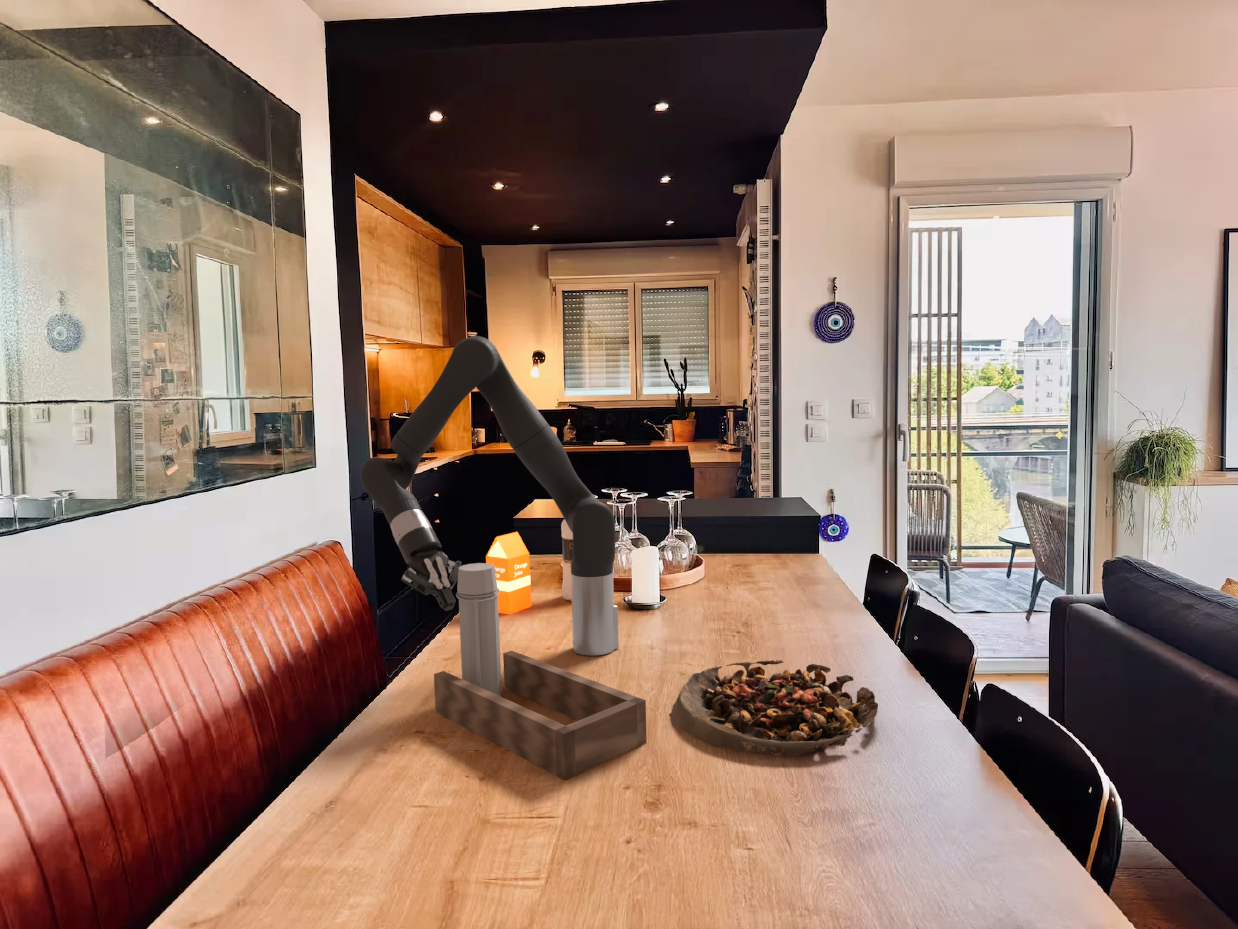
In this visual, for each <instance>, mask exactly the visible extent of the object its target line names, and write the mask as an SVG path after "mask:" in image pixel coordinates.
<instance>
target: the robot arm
mask: <svg viewBox="0 0 1238 929" xmlns="http://www.w3.org/2000/svg"><path fill="white" fill-rule="evenodd" d="M474 389H477V390H478V391H479V392H480V394H481V395H482V397H483V398H484V399H485V400H486V401H487V403H488V405H489V407H490V408H491V410H492V412H493V414H494V416H495V418H496V420H497V424H498V425H499V427H500V429H501V431H502V434H503V435H504V437H505V439H506V441H507V442H508V444H509V446H510V448H512V450H513V451H514V453H515V455H516V456H517V457H518V459H519V460H520V461H521V463H522V464H523V465H524V466H525V467H526V469H527V470H528V471H529V473H530V474H531V475H532V476H533V477H534V478H535V479H536V480H537V481H538V483H539V484H540V485H541V486H542V487H543V488H544V489H545V490H546V491H547V493H548V494H549V496H550V497H551V498H552V500H553V501H554V503H555V505H556V507H557V508H558V509H559V511H560V514H562V516H563V520H564V519H565V521H566V522H567V524H568V526H569V528H570V530H571V531H572V533H573V558H572V561H571V591H572V601H571V619H572V621H571V624H572V650H573V652H574V653H575V654H578V655H581V656H591V657H593V656H603V655H606V654H610V653H612V652H614V651H615V650H617V649H619V641H620V640H619V608H618V605H616V604H615V601H614V600H615V598H614V597H615V596H614V594H615V593H614V592H615V591H614V590H615V588H614V587H615V586H614V563H615V559H616V522H615V517H614V513H613V511H612V509H610V507H609V506H608V505H606V504H605V503H603V502H601V501H600V500H599V499H597V497H596V496H595V495H594V494H593V493H592V492H591V491H590V490H589V488H588V487H587V486H586V485H585V484H584V483H583V482H582V480H581V479H580V478H579V476H578V474H577V472H576V471H575V469H574V467H573V465H572V463H571V460H570V458H569V457H568V456H569V455H568V454H567V452H566V450H565V448H564V446H563V445H562V443H561V441H560V439H559V437H558V436H557V434H556V433H555V431H554V430H553V429H552V427H551V426H550V424H549V423H548V422H547V421H546V419H545V417H544V416H543V415H542V414H541V412H539V409H538V408H537V407H536V406H535V405H534V404H533V402H532V401H531V400H530V399H529V398H528V396H527V394H525V393H524V391H522V389H521V388H520V386H519V385H518V384H517V383H516V381H515V379H514V377H513V376H512V374H511V373H510V370H509V369H508V367H507V365H506V364H505V362H504V360H503V359H502V356H501V355H500V352H499V351H498V348H497V347H496V346H495V344H494V343H493V342H492V341H490V340H489V339H487V338H486V337H483V336H480V335H473V336H472V335H470V336H468V337H466V338H464V339H461V340H460V341H459V342H457V344H456V345H455V346H454V347H453V349H452V352H451V354H450V356H449V359H448V360H447V363H446V365H445V366H444V368H443V370H442V372H441V374H440V376H439V377H438V379H437V381H436V382H435V384H434V385H433V386H432V388H431V389H430V391H429V392H428V393H427V395H426V396H425V397H424V398H423V400H422V401H421V402H420V404H419V405H418V406H417V407H416V408H415V410H413V412H412V413H411V414H410V415H409V416H408V418H407V419H406V420H405V422H404V423H403V424H402V426H401V427H400V429H398V431H397V432H396V434H395V435H394V436H393V438H392V439H391V442H390V446H391V447H390V448H391V449H392V450H393V451H394V453H395V454H396V457H395V459H394V460H390V459H386V458H383V457H378V456H375V457H370V458H367V460H365V461H364V462H363V463H362V465H361V467H360V471H359V472H360V476H359V477H360V481H361V485H362V487H363V489H364V490H365V492H366V493H367V494H368V496H369V497H370V498H371V499H372V500H373V502H374V503H375V504H376V506H378V508H380V509H381V511H382V512H383V514H384V516H385V519H386V520H387V523H388V524H389V527H390V529H391V533H392V536H393V538H394V541H395V543H396V545H397V546H398V548H399V551H400V553H401V555H402V557H403V559H404V562H405V563H406V564H407V569H406V570H405V571H404V573H403V575H402V577H401V579H400V580H401V582H402V583H404V584H406V585H408V586H409V587H411V588H413V589H414V590H416V591H418V592H419V593H421V594H423V595H424V596H429V595H433V596H434V597H435V598H436V601H437V603H438V605H439V607H440V608H441V609H443V610H444V611H445V612H446V611H451V610H453V609H454V607H455V606H456V603H457V602H456V598H455V597H456V596H454V593H453V592H452V590H453V588H454V587H455V585H456V583H458V568H459V567H460V566H462V561H461V560H456V561H454V560H453V561H452V560H450V558H449V557H448V555H447V554H445V552H443V549H442V544H441V542H440V540H439V538H438V537H437V534H436V532H435V531H434V529H433V527H432V525H431V523H430V521H429V519H428V518H427V516H426V515H425V513H424V512H423V510H422V508H421V505H420V504H419V502H418V500H417V499H416V498H417V497H415V496H414V494H413V493H412V492H410V490H407V489H408V488H409V487H410V485H411V484H412V481H413V480H414V477H415V475H416V472H417V470H418V467H419V466H420V461H421V459H422V457H423V456H424V455H425V453H427V451H428V450H429V448H430V447H431V446H432V445H433V443H434V442H435V440H436V439H437V438H438V436H439V435H440V433H441V432H442V430H444V427H445V426H446V424H447V423H448V421H449V420H450V418H451V416H452V415H453V413H454V412H455V411H456V409H457V408H458V406H459V405H460V404H461V403H462V401H463V400H464V399H465V398H466V397H467V396H468V395H469V394H470V393H471V392H472V391H473V390H474ZM447 569H448V573H447ZM448 574H450V575H449V578H448Z"/></svg>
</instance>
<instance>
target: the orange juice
mask: <svg viewBox="0 0 1238 929" xmlns="http://www.w3.org/2000/svg"><path fill="white" fill-rule="evenodd" d="M522 539H523V538H522V537H521V536H520V534H519V532H518V531H515V532H514V531H513V532H510V533H506V534H502V535H498V536H497V535H496V537H495V538H494V541H493V542H492V545H490V548H489V550H488V552H487V553H486V555H485V563H488V564H493V565H494V567H495V574H496V581H497V588H498V589H499V590H500V593H499V595H498V610H499V614H506V615H513V614H515V613H518V612H520V611H523V610H526V609H528V608H530V607H532V594H531V592H532V590H531V584H532V583H531V565H530V564H531V562H530V560H531V559H530V552H529V550H528V549H527V547H526V545H525V543H524V542H523V540H522ZM497 593H498V592H497ZM497 593H496V594H497Z"/></svg>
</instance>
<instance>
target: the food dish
mask: <svg viewBox="0 0 1238 929" xmlns="http://www.w3.org/2000/svg"><path fill="white" fill-rule="evenodd" d="M783 663H784V660H782V659H776V660H774V659H772V660H759V661H756V662H751V661H744V662H742V661H741V662H735V663H730V664H726V667H731V666H742V667H743V668H744V670H745V671H746V675H744V674H745V671H744V670H743V669H738V670H737V671H735V672H734V673H733V675H731V674H727V675H724V676H723V678H720V675H719V670H720V669H721V668H722V667H723V665H719V666H717V665H716V666H714V667H711V668H710V667H709V668H705V669H704V670H702V671H701V672H697V673H696V672H694V673H692V674H691V675H690V676H689V678H688V680H687V681H686V682H685V683H684V684H683V686H682V688H681V690H680V692H679V694H678V696H677V698H676V700H675V702H674V703H673V705H672V708H671V712H670V713H669V715H668V716H669V717H670V722H671V726H672V727H674V728H677V729H679V730H681V731H683V732H685V733H687V734H688V735H690V736H691V737H692V738H694V739H697V740H699V741H701V742H702V743H704V744H706V745H709V746H711V747H713V748H718V749H719V748H726V749H729V750H731V751H734V752H735V751H736V752H750V753H751V752H755V753H759V754H766V755H771V754H774V755H777V754H781V755H786V756H797V755H805V754H810V753H812V752H816V751H823V750H825V749H827V748H828V746H843V745H845V744H846V742H848V741H847V740H848V739H850V738H851V737H854V735H853V732H855V733H856V734H857V733H859V732H860V731H862V729H863V728H867V727H869V726H870V725H871V724H872V723H873V722H875V718H876V717H877V714H878V713H879V704H878V703H877V702H876V696H875V694H874V692H873V691H872V690H870V689H869V687H864V686H862V687H860V688H859V689H858V690H857V691H856V700H855V702H853V697H852V696H851V694H850V693H849V692H847V691H844V692H843V686H844V685H845V684H847V683H849V682H852V681H853V682H854V680H855V679H854V676H851V675H848V674H846V675H842V676H836V678H835V679H836V680H835V681H832V682H830V683H828V684H827V677H826V674H828V673H830V672H831V668H830V667H829V666H826V665H822V664H821V665H820V664H816V663H811V664H808V665H807V666H806V667H805V668H806V669H805V670H803V671H802V670H801V669H800V668H798V669H796V670H795V671H794V672H792V673H791V671H790V670H789V669H785V670H784V671H782V672H775V673H773V674H772V675H771V676H770V678H767V676H765V675H766V674H765V673H766V670H765V669H764V668H763V667H762V666H768V665H779V664H783ZM755 664H757V665H758V664H759V665H762V666H753V667H751V665H755ZM750 667H751V668H750ZM811 673H813V674H814V678H813V677H812V676H811V675H810V674H811ZM824 673H826V674H824ZM856 728H857V729H856Z"/></svg>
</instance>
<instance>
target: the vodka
mask: <svg viewBox="0 0 1238 929" xmlns="http://www.w3.org/2000/svg"><path fill="white" fill-rule="evenodd" d="M560 525H561V526H560V527H561V528H560V529H561V534H560V535H561V538H562V540H561V542H562V562H561V564H562V587H561V597H562V599H564V600H565V601H569V602H572V591H571V561H572V558H573V533H572V531H571V530H570V528H569V526H568V524H567V522H566V521H565V519H564V518H563V520H562V522H561V524H560Z"/></svg>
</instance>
